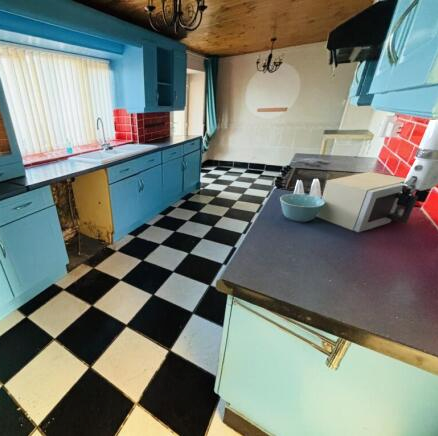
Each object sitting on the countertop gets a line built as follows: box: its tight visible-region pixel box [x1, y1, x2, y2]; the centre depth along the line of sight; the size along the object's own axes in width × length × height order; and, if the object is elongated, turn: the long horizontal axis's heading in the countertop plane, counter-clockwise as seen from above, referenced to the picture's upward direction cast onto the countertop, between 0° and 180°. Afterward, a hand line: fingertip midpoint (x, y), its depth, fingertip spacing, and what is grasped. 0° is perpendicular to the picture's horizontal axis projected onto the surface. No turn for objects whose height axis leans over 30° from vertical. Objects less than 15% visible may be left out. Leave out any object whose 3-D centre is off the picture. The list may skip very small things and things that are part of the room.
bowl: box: [279, 193, 325, 223], centre depth 99 cm, size 16×16×8 cm
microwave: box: [316, 171, 413, 231], centre depth 94 cm, size 16×26×16 cm, turn 110°
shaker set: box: [293, 178, 322, 199], centre depth 116 cm, size 12×4×11 cm, turn 60°
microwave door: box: [353, 183, 418, 233], centre depth 85 cm, size 7×19×16 cm, turn 110°
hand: (410, 203), depth 85 cm, fingers open, 9 cm apart
